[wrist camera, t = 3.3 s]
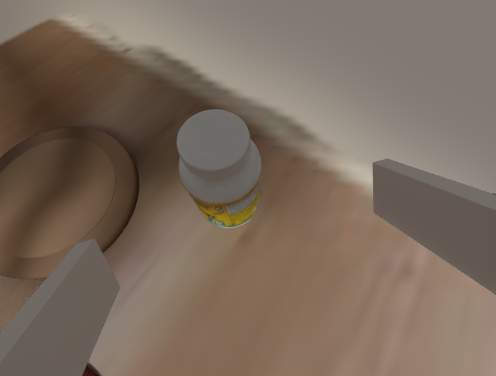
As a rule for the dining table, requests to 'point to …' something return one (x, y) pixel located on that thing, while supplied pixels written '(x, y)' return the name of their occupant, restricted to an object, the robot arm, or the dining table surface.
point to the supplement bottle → (220, 167)
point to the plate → (62, 198)
